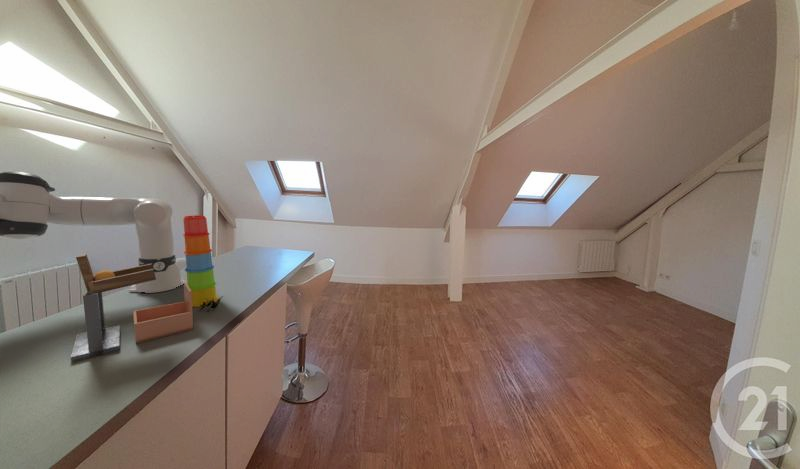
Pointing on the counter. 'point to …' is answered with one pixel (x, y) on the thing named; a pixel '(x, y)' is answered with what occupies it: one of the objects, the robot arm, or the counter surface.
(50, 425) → the counter surface
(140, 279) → the lever
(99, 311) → the lever stand
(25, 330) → the counter surface
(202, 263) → the stacking cups
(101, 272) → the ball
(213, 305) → the creature
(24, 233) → the robot arm
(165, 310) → the cup
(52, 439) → the counter surface
